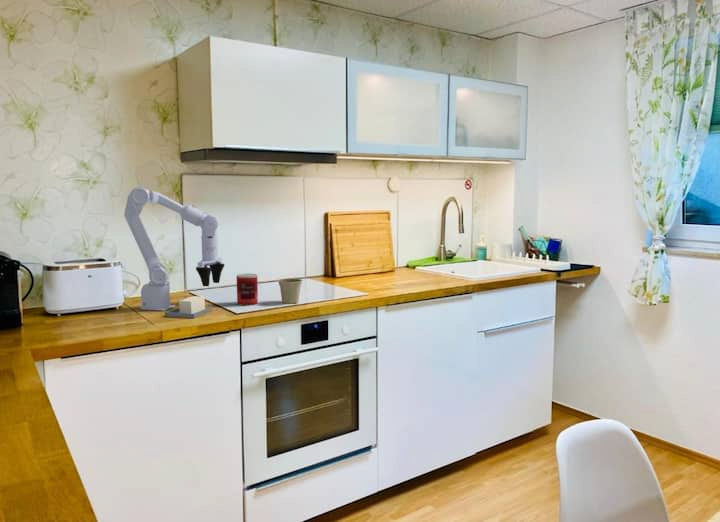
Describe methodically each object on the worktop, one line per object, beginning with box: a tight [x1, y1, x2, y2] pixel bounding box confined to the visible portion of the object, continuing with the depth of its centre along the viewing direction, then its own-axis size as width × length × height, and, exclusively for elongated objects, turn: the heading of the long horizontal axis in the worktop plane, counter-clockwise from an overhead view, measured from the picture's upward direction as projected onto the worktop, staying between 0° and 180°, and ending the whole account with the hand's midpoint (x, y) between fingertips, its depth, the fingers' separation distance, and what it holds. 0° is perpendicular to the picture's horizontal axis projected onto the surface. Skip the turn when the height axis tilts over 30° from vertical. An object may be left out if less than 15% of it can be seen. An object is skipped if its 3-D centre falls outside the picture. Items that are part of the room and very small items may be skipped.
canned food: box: [236, 273, 259, 306], centre depth 210 cm, size 8×8×11 cm
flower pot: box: [277, 278, 303, 305], centre depth 213 cm, size 9×9×9 cm
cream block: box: [178, 295, 206, 314], centre depth 195 cm, size 4×4×9 cm
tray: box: [164, 306, 213, 319], centre depth 193 cm, size 11×12×2 cm
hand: (211, 284), depth 208 cm, fingers open, 7 cm apart
